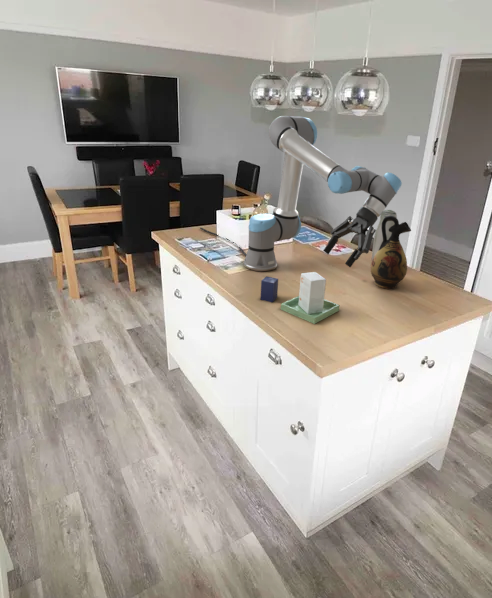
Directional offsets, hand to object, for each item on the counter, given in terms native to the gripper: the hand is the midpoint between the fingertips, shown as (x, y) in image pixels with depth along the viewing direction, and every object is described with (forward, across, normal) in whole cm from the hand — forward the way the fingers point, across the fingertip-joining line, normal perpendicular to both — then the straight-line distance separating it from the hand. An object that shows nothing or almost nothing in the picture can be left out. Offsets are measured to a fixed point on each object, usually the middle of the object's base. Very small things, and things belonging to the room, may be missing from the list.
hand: (336, 258), depth 155 cm
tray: (+21, -4, -1) cm, 21 cm away
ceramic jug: (-5, +5, -37) cm, 38 cm away
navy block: (+27, +11, +6) cm, 30 cm away
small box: (+21, -4, -1) cm, 21 cm away
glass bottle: (-13, +22, -49) cm, 55 cm away
